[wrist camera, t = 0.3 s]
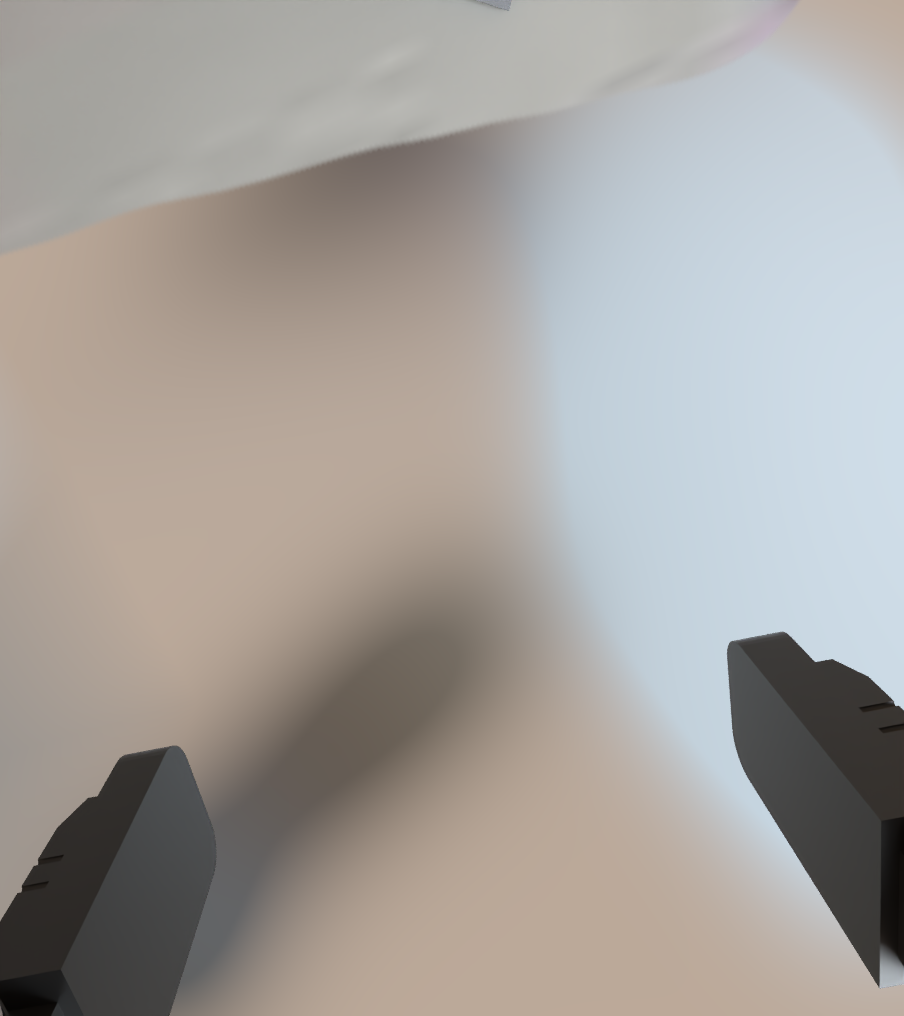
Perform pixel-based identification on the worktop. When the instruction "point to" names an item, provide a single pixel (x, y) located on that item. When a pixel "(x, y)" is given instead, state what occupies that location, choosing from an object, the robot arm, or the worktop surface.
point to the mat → (498, 3)
